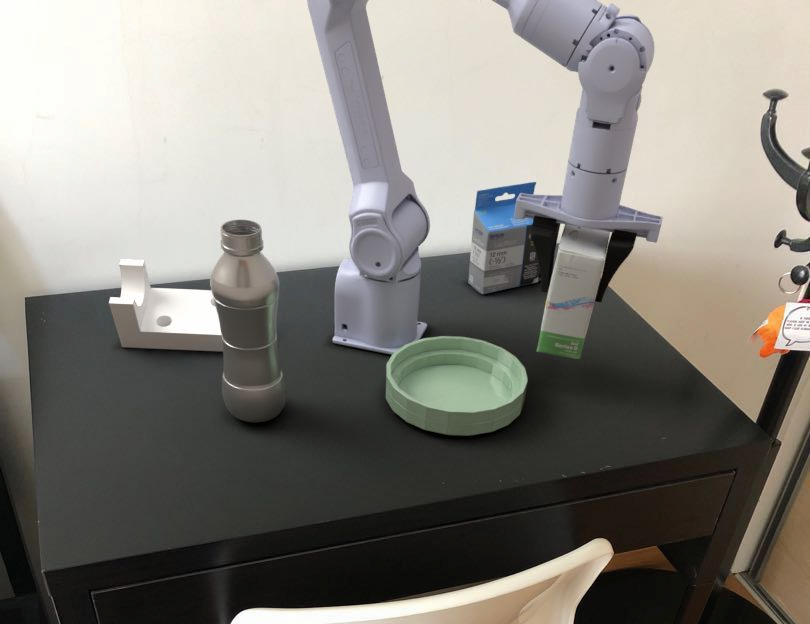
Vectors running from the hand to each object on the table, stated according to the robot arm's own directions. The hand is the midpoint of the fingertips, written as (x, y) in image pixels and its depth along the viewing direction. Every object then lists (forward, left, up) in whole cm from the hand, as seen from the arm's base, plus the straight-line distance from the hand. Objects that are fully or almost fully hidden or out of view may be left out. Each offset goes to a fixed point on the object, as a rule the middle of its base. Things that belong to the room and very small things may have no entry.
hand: (572, 293), depth 96 cm
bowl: (-10, -9, -10) cm, 17 cm away
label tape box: (-11, +20, -11) cm, 25 cm away
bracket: (-43, -8, -11) cm, 45 cm away
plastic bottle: (-29, -19, -10) cm, 36 cm away
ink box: (0, 0, -6) cm, 6 cm away
